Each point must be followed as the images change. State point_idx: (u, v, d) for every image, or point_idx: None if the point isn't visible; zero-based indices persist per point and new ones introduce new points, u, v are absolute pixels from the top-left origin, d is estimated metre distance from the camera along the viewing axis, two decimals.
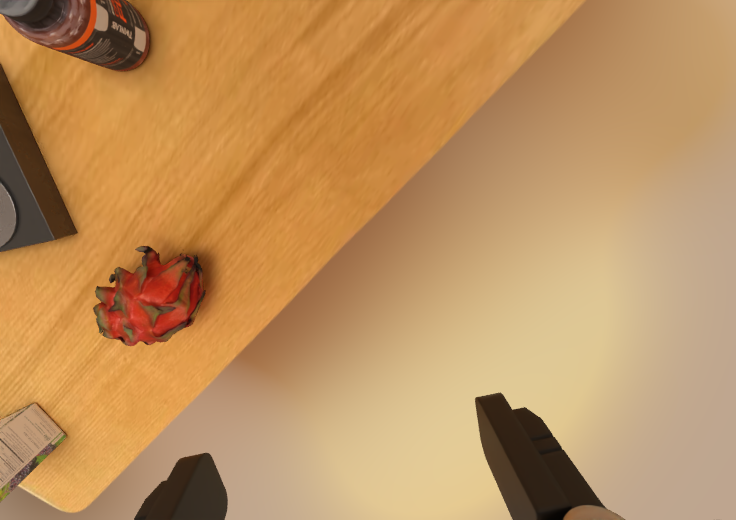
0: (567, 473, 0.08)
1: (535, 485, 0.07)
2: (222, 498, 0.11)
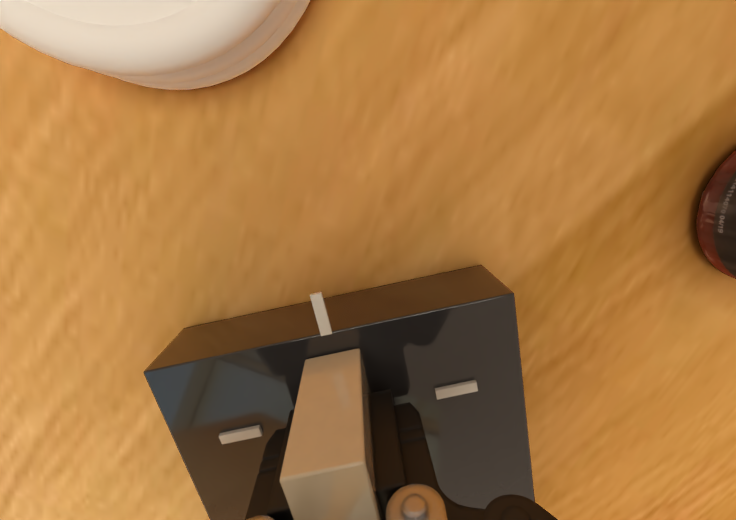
0: (421, 458, 0.09)
1: (384, 468, 0.09)
2: None
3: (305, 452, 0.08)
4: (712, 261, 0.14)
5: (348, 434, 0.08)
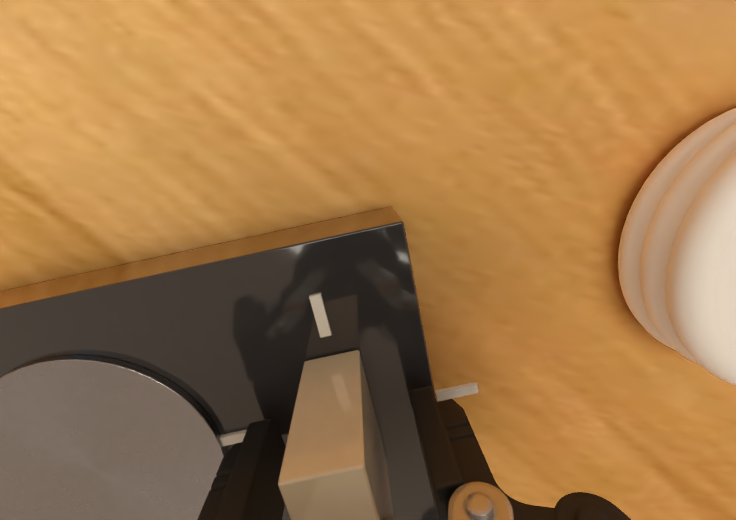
0: (473, 455, 0.09)
1: (438, 465, 0.08)
2: None
3: (304, 456, 0.08)
4: None
5: (347, 437, 0.08)
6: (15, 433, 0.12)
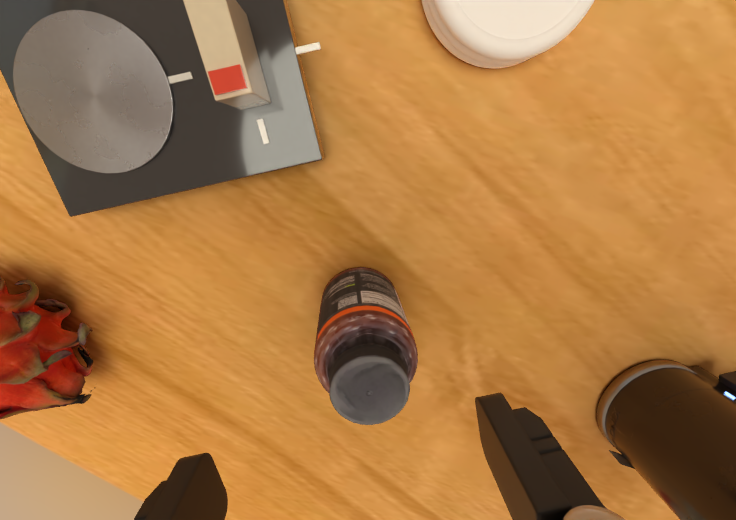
0: (567, 473, 0.08)
1: (535, 485, 0.07)
2: (222, 498, 0.11)
3: None
4: None
5: None
6: (46, 64, 0.20)
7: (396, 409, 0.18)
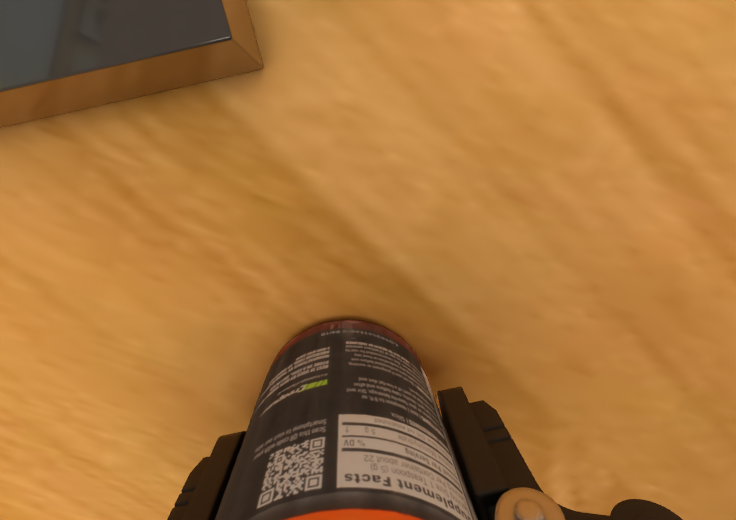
0: (512, 459, 0.09)
1: (479, 470, 0.08)
2: None
3: None
4: (285, 346, 0.13)
5: None
6: None
7: None
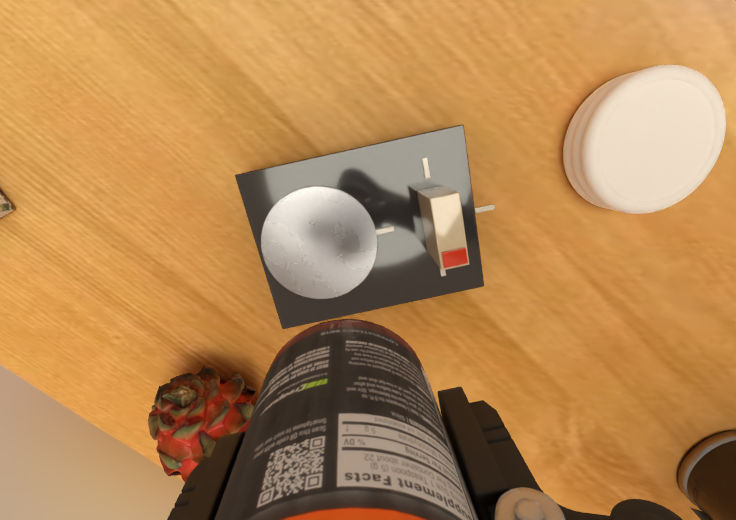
0: (512, 459, 0.09)
1: (479, 470, 0.08)
2: None
3: (435, 195, 0.22)
4: (285, 345, 0.13)
5: (450, 191, 0.22)
6: (287, 223, 0.26)
7: None
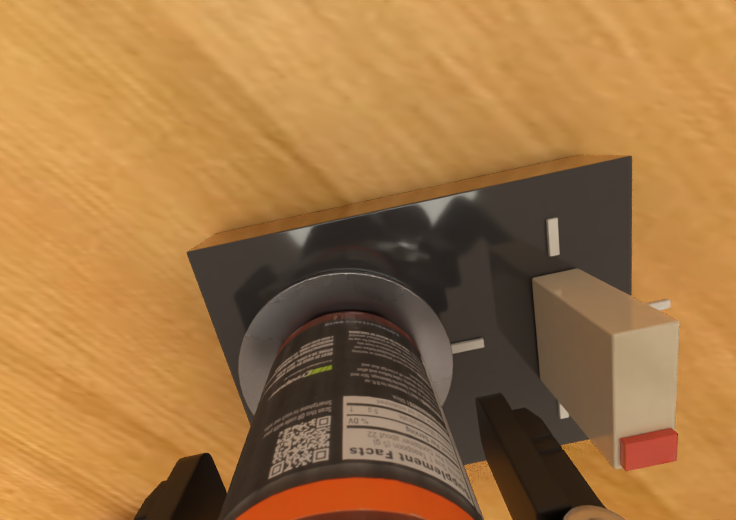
0: (567, 473, 0.08)
1: (535, 485, 0.07)
2: (222, 498, 0.11)
3: (616, 321, 0.10)
4: (290, 336, 0.13)
5: (643, 309, 0.10)
6: None
7: None
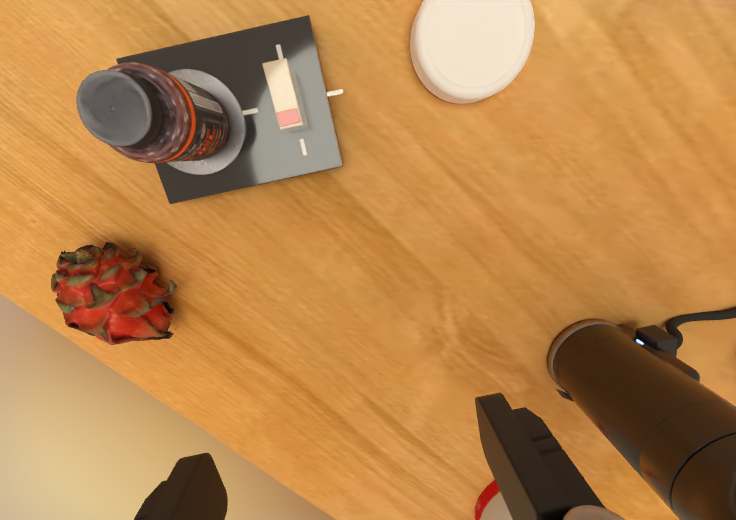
0: (568, 473, 0.08)
1: (535, 485, 0.07)
2: (222, 498, 0.11)
3: None
4: None
5: None
6: None
7: (140, 129, 0.21)
